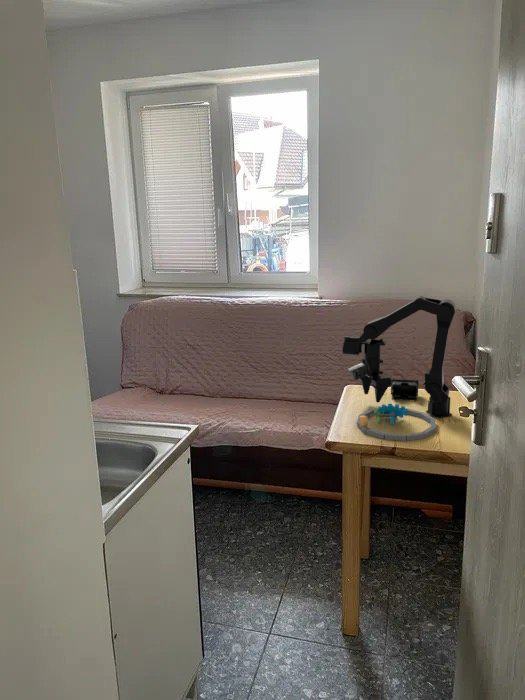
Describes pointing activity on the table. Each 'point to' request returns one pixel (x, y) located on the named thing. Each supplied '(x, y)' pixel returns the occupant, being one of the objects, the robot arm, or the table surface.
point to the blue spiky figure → (390, 412)
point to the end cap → (404, 389)
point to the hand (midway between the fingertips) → (371, 398)
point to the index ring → (403, 437)
